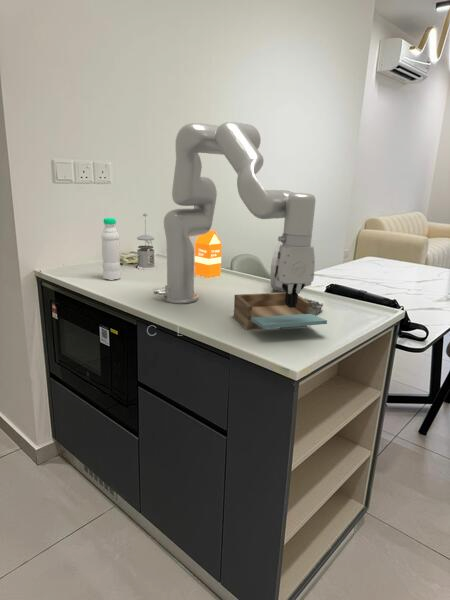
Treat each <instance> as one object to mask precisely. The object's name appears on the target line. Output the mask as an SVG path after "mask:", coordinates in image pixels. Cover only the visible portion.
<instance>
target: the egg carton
mask: <svg viewBox="0 0 450 600" xmlns="http://www.w3.org/2000/svg"><path fill="white" fill-rule="evenodd" d="M304 299H305V300H307V301H308V302H310V303H311V308H310V314H312V315H315V316H317V315H318V314H319V313H322V308H323V307H324V303H323V302H322V303H320V302H319V301H316V300H312V299H308V298H306V297H305V298H304Z"/></svg>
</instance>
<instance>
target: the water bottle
mask: <svg viewBox="0 0 450 600" xmlns="http://www.w3.org/2000/svg"><path fill="white" fill-rule="evenodd" d="M116 224H117V219H116V218H115V217H104V218H103V225H104V229H103V231H102V234H101V235H100V236H101V254H102V269H103V270H102V271H103V272H102V275H103V276H102V278H103V277H104V278H107V279H115V278H120V277H121V276H122V274H121V261H120V260H121V251H120V249H121V247H120V234H119V232H118V231H117V228H116ZM104 278H103V279H104ZM120 279H121V278H120Z"/></svg>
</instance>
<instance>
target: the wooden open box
mask: <svg viewBox="0 0 450 600" xmlns="http://www.w3.org/2000/svg"><path fill="white" fill-rule="evenodd" d="M285 295H286V292H265V293H262V292H261V293H243V294H234V298H233V299H234V302H233V304H234V305H233V317H234V318H235V319H236V320H237V321H239V323H240V324H241V325H242V326H243V327H244V328H245V329H246V330H257V329H259V330H260V329H263V328H262V327H260V326H258V325H257V324H255V323H253V322H252V321H251V317H267V316H282V315H298V314H310V308H311V303H310V302H308V301H307V300H305V298H303V297H302V296H300V295H298V299H297V304H296V307H295V308H293V307H292V308H289V307H288V306H287V305H286V303H285Z"/></svg>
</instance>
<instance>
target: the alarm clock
mask: <svg viewBox="0 0 450 600" xmlns="http://www.w3.org/2000/svg"><path fill="white" fill-rule="evenodd" d="M280 245H282V242H281V241H278V243H277V245H276V247H275V249H274V252H273V255H272V259H271V260H272V261H271V265H270V286H271V289H272V291H273V292H277V293H282V292H286V291H284V289H283V288H281V287H277V286H275V285H274V282H275V277H274V273H275V265H276V259H277V254H278V251H279V247H280ZM292 287H293V284H292Z"/></svg>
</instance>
